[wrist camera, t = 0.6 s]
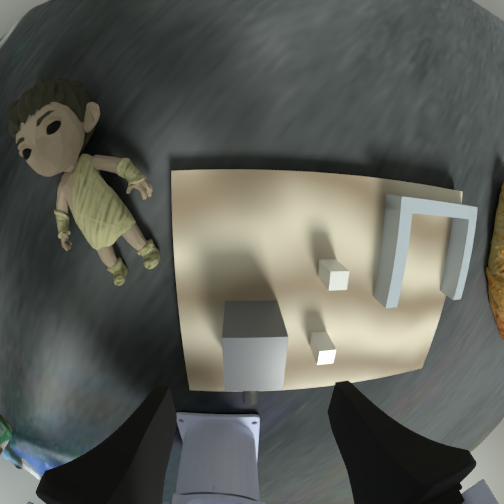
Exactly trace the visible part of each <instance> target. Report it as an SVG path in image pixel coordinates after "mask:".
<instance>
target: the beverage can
mask: <svg viewBox="0 0 504 504" xmlns="http://www.w3.org/2000/svg"><path fill="white" fill-rule="evenodd" d="M11 432H12V429H11V427H10V426H9V425H8V423H7V422H6V421H5V420H4V418H3V417H2V416H1V415H0V455H1V453H2V452H3V450H4V448H5V447H6V445H7V443H8V442H9V440H10V438H11V437H12V433H11Z"/></svg>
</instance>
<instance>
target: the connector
mask: <svg viewBox="0 0 504 504" xmlns="http://www.w3.org/2000/svg"><path fill="white" fill-rule="evenodd" d="M287 346H288V334H287V330H286V327H285V324H284V320H283V317H282V314H281V311H280V307H279V304H278V301H225V309H224V319H223V331H222V351H223V370H224V387H225V391H243V402H244V403H245V404H247V405H255V404H257V403H258V401H259V391H264V390H283V384H284V375H285V366H286V356H287Z"/></svg>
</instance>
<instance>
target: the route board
mask: <svg viewBox="0 0 504 504" xmlns="http://www.w3.org/2000/svg"><path fill="white" fill-rule="evenodd" d="M171 190H172V226H173V247H174V263H175V276H176V288H177V299H178V309H179V318H180V327H181V335H182V343H183V350H184V357H185V364H186V371H187V377H188V383H189V389H190V390H197V391H225V387H224V370H223V351H222V331H223V319H224V309H225V301H278V304H279V307H280V311H281V314H282V317H283V320H284V324H285V327H286V330H287V334H288V346H287V356H286V366H285V375H284V384H283V390H291V389H304V388H314V387H323V386H331V385H335V383H336V382H341V381H349V382H350V383H353V382H359V381H365V380H370V379H376V378H381V377H386V376H391V375H395V374H400V373H404V372H408V371H412V370H416V369H420V368H422V366H423V364H424V361H425V359H426V356H427V354H428V351H429V348H430V346H431V343H432V340H433V337H434V334H435V331H436V328H437V325H438V322H439V318H440V315H441V312H442V308H443V304H444V301H445V297H446V295H445V294H444V293H442V292H441V291H440V288H441V284H442V279H443V275H444V270H445V265H446V260H447V254H448V248H449V242H450V235H451V228H452V219H453V217H444V216H434V215H424V214H413V213H412V223H411V232H410V240H409V247H408V254H407V260H406V266H405V272H404V277H403V282H402V287H401V292H400V297H399V301H398V306H397V307H394V308H385V307H384V306H383V305H382V304H381V303H380V302H379V301H378V300H376V299H375V298H374V297H373V296H374V291H375V285H376V279H377V273H378V267H379V260H380V253H381V245H382V236H383V227H384V216H385V204H386V194H394V195H403V196H411V197H419V198H426V199H434V200H441V201H447V202H454V203H460V204H462V192H461V191H456V190H451V189H446V188H441V187H435V186H429V185H423V184H417V183H411V182H404V181H397V180H390V179H382V178H374V177H365V176H355V175H345V174H334V173H321V172H305V171H286V170H253V169H210V170H177V171H171ZM319 259H337V260H338V261H339V262H340V263H341V264H342V265H343V266H344V267H345V268H346V269H348V270H349V278H348V286H347V290H335V291H328V290H327V288H326V287H325V285H324V284H323V283H322V282H321V280H320V279H319V278H318V269H319ZM312 332H327V333H328V335H329V337H330V339H331V341H332V343H333V344H334V346H335V348H336V353H335V358H334V363H332V364H322V365H317V364H316V361H315V359H314V356H313V354H312V351H311V349H310V346H309V344H310V337H311V333H312ZM264 391H275V390H264ZM233 392H239V391H233Z"/></svg>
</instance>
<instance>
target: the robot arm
mask: <svg viewBox="0 0 504 504" xmlns="http://www.w3.org/2000/svg"><path fill="white" fill-rule="evenodd" d="M328 415H329V420H330V424H331V428H332V432H333V434H334V437H335V440H336V442H337V445H338V447H339V450H340V453H341V455H342V458H343V460H344V463H345V465H346V468H347V472H348V475H349V479H350V484H351V488H352V493H353V498H354V504H498V502H497V500H496V498H495V497H494V495H493V494H492V492H491V490H490V489H489V487H488V485H487V484H486V482H485V481H484V479H482V480H481V481H479V482H478V483H476V484H475V485H474V486H472V487H471V488H469V489H468V490H466V491H465V492H464V493H462V494H461V493H460V491H459V490H461V489H462V486H461V484H460V482H461V481H462V480H463V479H464V478H465V477H466V476H467V475H468V474H469V473H470V472H471V471H472V470H473V469H474V468H475V466H476V461H475V460H474V458H473V457H472V455H471V454H470V452H469V451H468V450H465V449H460V448H455V447H451V446H447V445H444V444H441V443H438V442H435V441H432V440H430V439H428V438H425V437H423V436H421V435H419V434H417V433H415V432H413V431H411V430H409V429H408V428H406V427H404V426H403V425H401V424H399V423H398V422H396V421H395V420H394V419H392V418H391V417H389V416H388V415H387V414H385V413H384V412H383V411H382V410H380V409H379V408H378V407H377V406H376V405H374V404H373V403H372V402H371V401H370V400H369V399H368V398H367V397H365V396H364V395H363V394H362V393H361V392H360V391H359V390H358V389H357V388H356V387H355V386H354V385H353V384H351V383H350V382H349V381H341V382H336V383H335V387H334V391H333V395H332V398H331V402H330V406H329V409H328ZM176 421H177V424H178V428H179V431H180V435H181V438H182V441H183V446H182V452H181V458H180V465H179V472H178V478H177V485H176V493H175V494H173V497H172V504H266V502H260V498H259V486H258V473H257V457H258V442H259V426H260V417H259V415H257V414H202V413H186V412H177V413H176V410H175V407H174V403H173V398H172V394H171V390H170V387H168V386H157V385H156V386H155V387H154V388H153V390H152V391H151V392H150V393H149V395H148V396H147V397H146V399H145V400H144V401H143V402H142V403H141V405H140V406H139V407H138V408H137V409H136V410H135V411H134V413H133V414H132V415H131V416H130V417H129V418H128V419H127V420H126V421H125V422H124V423H123V424H122V425H121V426H120V427H119V428H118V429H117V430H116V431H115V432H114V433H113V434H112V435H110V436H109V437H108V438H107V439H105V440H104V441H103V442H102V443H100V444H99V445H97V446H96V447H95V448H93V449H92V450H90V451H89V452H87V453H85V454H84V455H82V456H80V457H78V458H76V459H74V460H72V461H70V462H68V463H66V464H64V465H61V466H58V467H56V468H53V469H50V470H47V471H45V473H44V474H43V476H42V478H41V480H40V483H39V485H38V487H37V490H36V494H37V496H38V497H39V498H40V499H41V500H42V501H44V502H45V503H46V504H171V502H168V501H163V502H162V497H163V487H164V479H165V473H166V469H167V465H168V461H169V457H170V453H171V449H172V445H173V441H174V437H175V430H176ZM254 421H255V422H254ZM27 504H33V503H31V502H28V503H27Z"/></svg>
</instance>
